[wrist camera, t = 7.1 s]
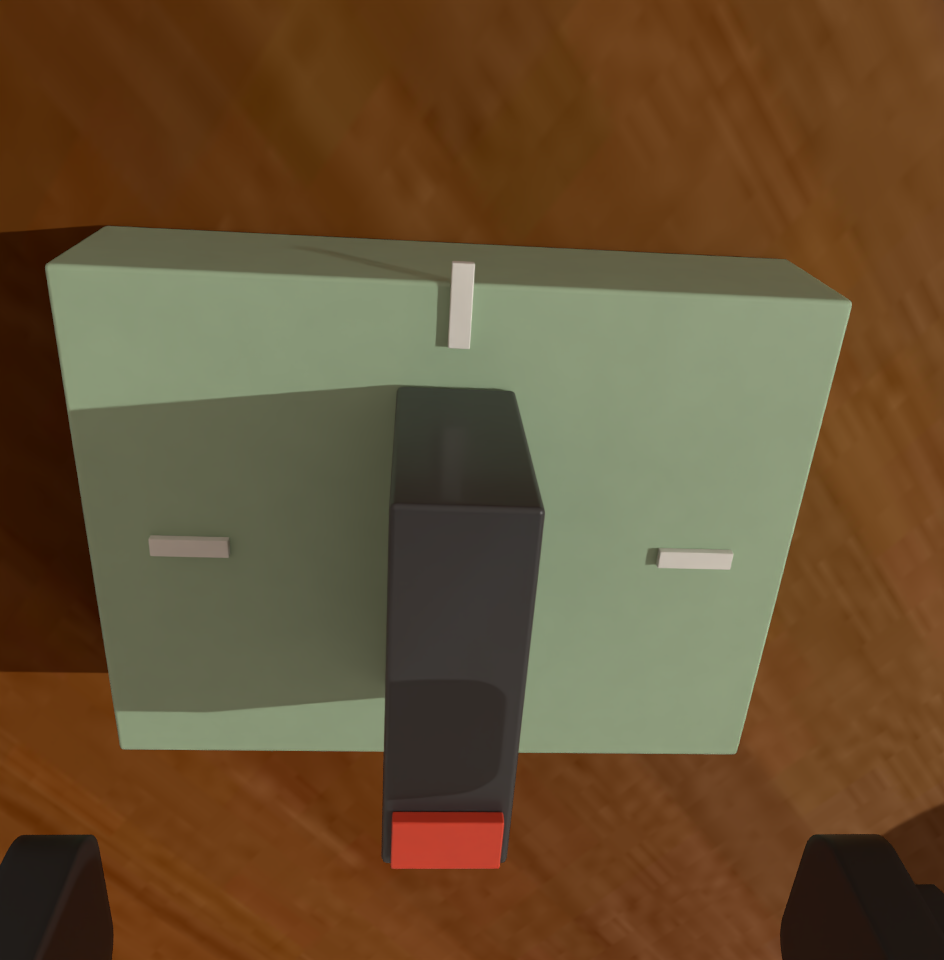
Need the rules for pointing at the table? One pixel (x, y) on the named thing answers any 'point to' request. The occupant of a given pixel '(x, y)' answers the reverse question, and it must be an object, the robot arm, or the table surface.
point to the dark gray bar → (457, 625)
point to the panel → (368, 462)
